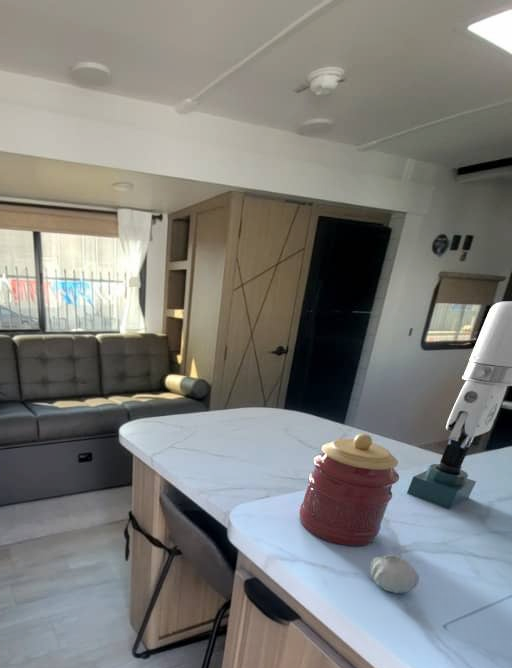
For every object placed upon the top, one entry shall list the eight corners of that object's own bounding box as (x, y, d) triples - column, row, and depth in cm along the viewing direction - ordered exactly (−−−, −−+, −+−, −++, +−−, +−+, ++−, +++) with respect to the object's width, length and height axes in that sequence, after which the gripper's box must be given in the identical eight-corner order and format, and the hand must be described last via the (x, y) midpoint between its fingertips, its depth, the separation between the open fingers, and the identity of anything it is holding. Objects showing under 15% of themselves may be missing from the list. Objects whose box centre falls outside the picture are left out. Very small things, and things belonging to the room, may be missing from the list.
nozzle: (441, 468, 87) (444, 459, 86) (460, 474, 84) (464, 465, 83) (433, 471, 85) (437, 462, 84) (453, 478, 82) (457, 468, 81)
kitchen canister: (393, 540, 70) (432, 445, 62) (335, 553, 65) (369, 452, 58) (335, 505, 81) (361, 419, 73) (282, 514, 76) (304, 424, 69)
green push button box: (427, 483, 92) (437, 459, 90) (468, 498, 86) (480, 472, 84) (406, 493, 87) (416, 467, 84) (449, 509, 81) (461, 482, 78)
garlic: (360, 585, 59) (371, 556, 56) (369, 568, 62) (380, 540, 60) (407, 606, 55) (421, 576, 53) (415, 587, 59) (428, 558, 56)
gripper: (500, 381, 69) (456, 478, 77) (527, 375, 77) (485, 463, 85) (450, 372, 74) (414, 464, 82) (480, 367, 82) (444, 451, 90)
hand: (450, 463), depth 83 cm, fingers closed
